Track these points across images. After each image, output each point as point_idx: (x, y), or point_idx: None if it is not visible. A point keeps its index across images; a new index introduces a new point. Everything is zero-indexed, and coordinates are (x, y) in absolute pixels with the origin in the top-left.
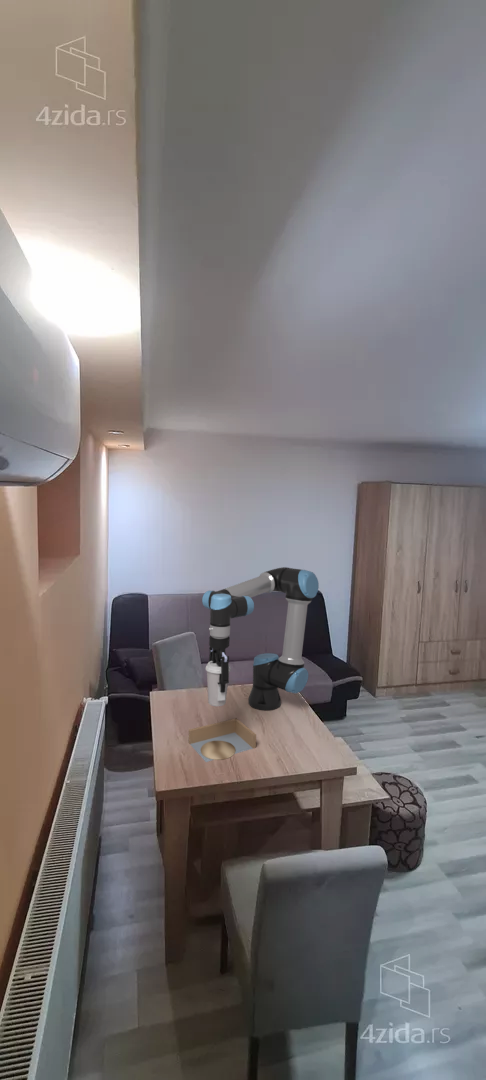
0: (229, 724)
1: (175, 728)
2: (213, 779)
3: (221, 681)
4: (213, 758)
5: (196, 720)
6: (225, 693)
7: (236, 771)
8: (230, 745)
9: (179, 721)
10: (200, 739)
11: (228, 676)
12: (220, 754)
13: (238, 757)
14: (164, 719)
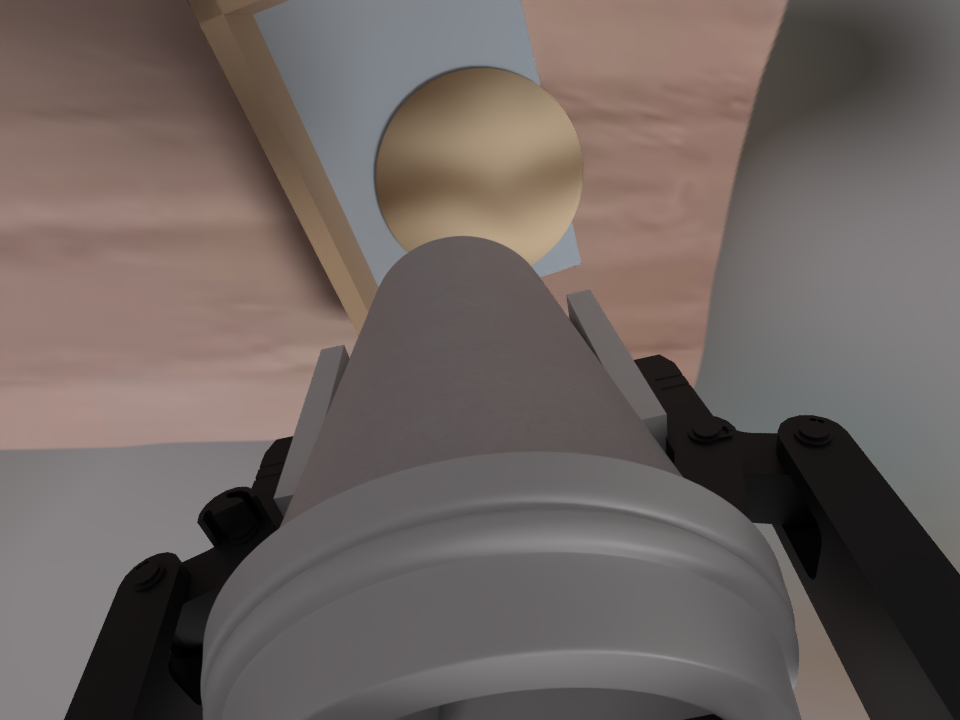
0: (260, 75)
1: (201, 377)
2: (709, 239)
3: (786, 530)
4: (567, 224)
5: (75, 262)
6: (558, 306)
7: (691, 107)
8: (447, 95)
9: (109, 356)
10: (369, 274)
11: (907, 511)
12: (536, 179)
13: (559, 60)
14: (99, 425)
